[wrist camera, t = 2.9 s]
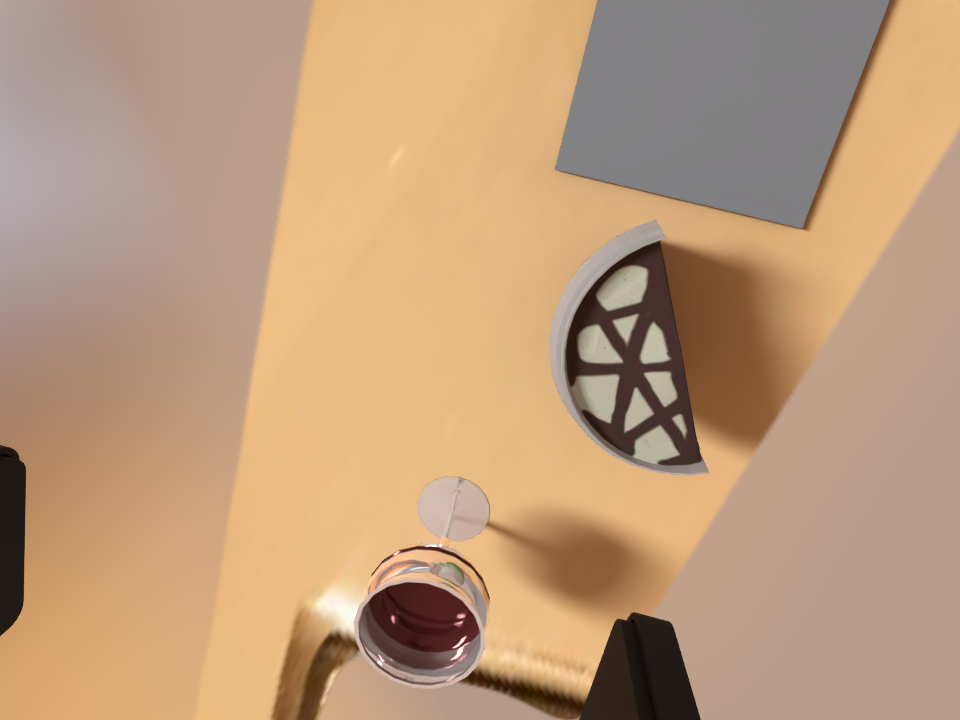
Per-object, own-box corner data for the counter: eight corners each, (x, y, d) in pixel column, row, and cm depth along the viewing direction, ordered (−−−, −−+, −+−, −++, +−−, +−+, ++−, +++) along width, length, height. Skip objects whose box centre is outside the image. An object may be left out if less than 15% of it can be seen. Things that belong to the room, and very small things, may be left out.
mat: (665, -266, 29) (667, -275, 28) (962, -202, 29) (970, -210, 28) (555, 169, 35) (555, 169, 35) (797, 227, 35) (801, 228, 34)
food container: (527, 236, 36) (520, 259, 27) (632, 209, 35) (663, 223, 26) (573, 425, 40) (581, 506, 30) (670, 405, 39) (711, 483, 29)
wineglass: (414, 556, 44) (368, 692, 32) (395, 469, 42) (339, 582, 30) (509, 548, 43) (496, 686, 31) (494, 459, 41) (474, 572, 29)
